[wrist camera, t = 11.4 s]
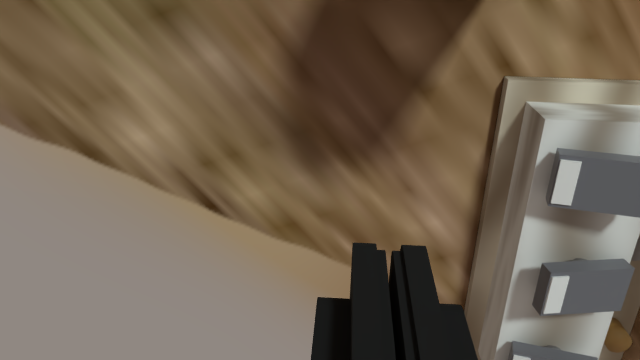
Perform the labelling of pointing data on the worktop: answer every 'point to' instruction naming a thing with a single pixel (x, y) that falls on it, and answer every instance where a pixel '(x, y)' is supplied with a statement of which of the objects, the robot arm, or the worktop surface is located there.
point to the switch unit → (550, 217)
